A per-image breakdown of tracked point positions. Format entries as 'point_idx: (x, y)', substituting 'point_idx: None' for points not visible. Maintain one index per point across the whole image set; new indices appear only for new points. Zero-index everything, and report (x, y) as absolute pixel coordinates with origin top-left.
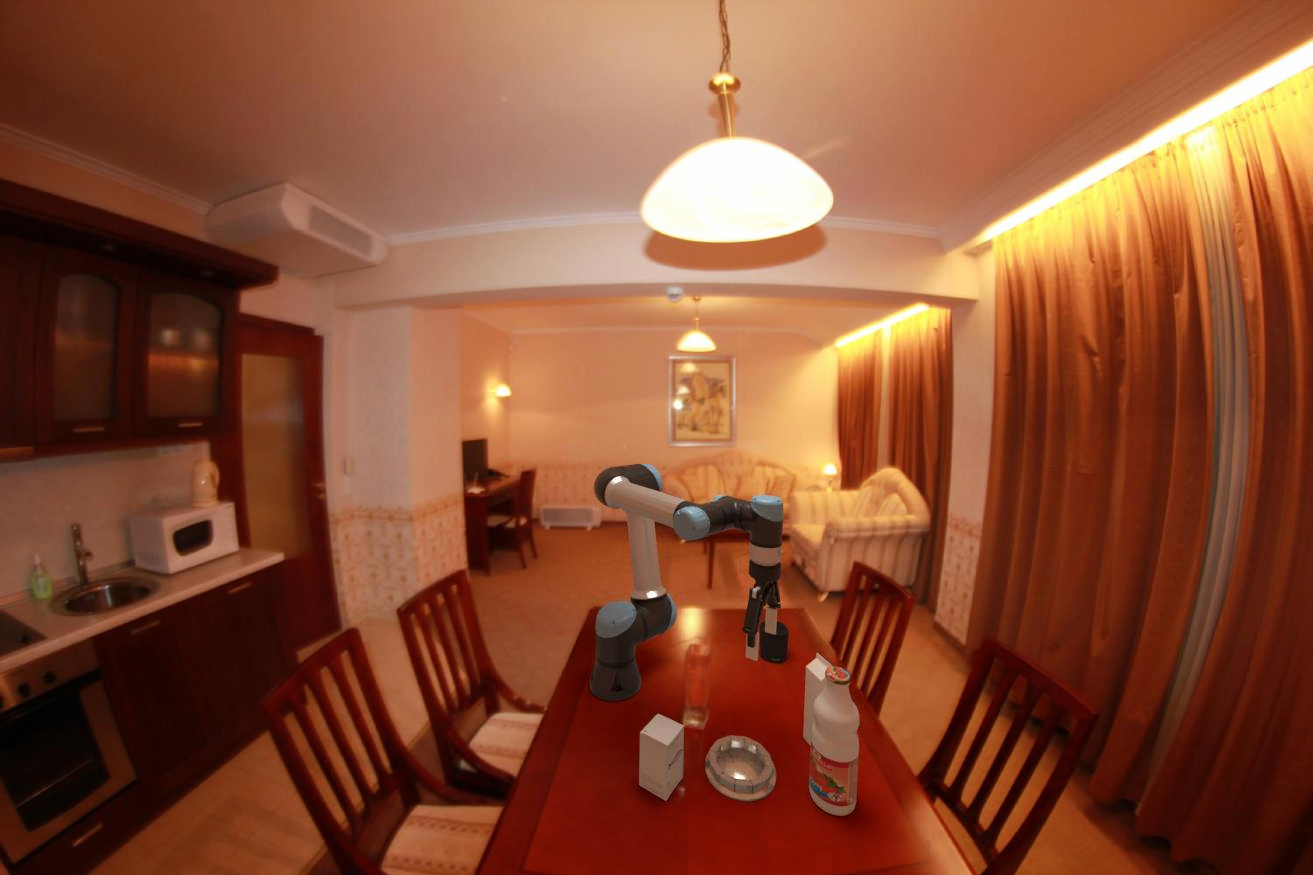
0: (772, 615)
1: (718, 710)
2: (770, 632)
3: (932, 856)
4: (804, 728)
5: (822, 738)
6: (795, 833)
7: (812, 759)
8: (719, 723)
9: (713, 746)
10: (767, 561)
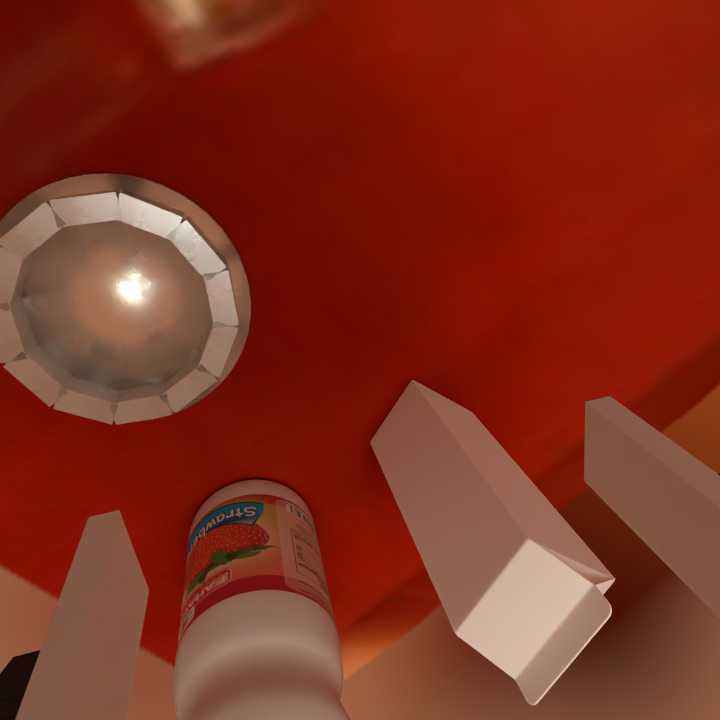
0: (706, 567)
1: (326, 55)
2: (587, 450)
3: None
4: (418, 398)
5: (179, 701)
6: (68, 520)
7: (198, 579)
8: (261, 107)
9: (78, 201)
10: None
